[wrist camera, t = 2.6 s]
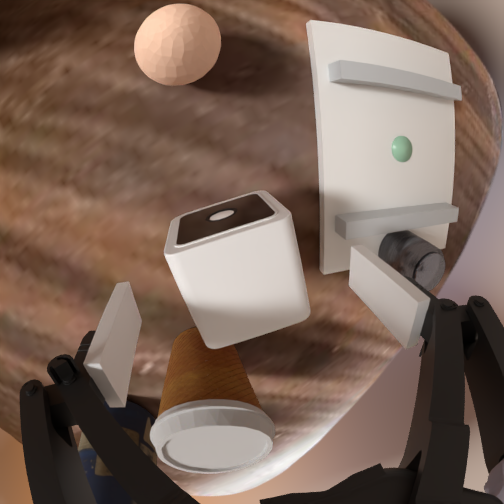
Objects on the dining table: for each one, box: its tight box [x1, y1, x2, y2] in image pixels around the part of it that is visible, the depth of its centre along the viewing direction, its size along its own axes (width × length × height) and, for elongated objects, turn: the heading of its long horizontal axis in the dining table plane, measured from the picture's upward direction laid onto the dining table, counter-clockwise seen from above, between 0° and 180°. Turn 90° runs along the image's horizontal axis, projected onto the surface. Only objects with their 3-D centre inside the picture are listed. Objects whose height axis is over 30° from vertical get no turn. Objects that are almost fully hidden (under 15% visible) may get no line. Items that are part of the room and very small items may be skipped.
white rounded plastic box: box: [164, 190, 310, 349], centre depth 19 cm, size 6×7×10 cm
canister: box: [78, 400, 157, 504], centre depth 22 cm, size 10×10×18 cm
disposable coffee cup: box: [150, 327, 275, 474], centre depth 22 cm, size 10×10×12 cm
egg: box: [134, 4, 221, 86], centre depth 14 cm, size 5×5×8 cm
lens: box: [378, 230, 445, 291], centre depth 24 cm, size 4×4×6 cm
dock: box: [306, 20, 462, 275], centre depth 22 cm, size 22×16×3 cm
